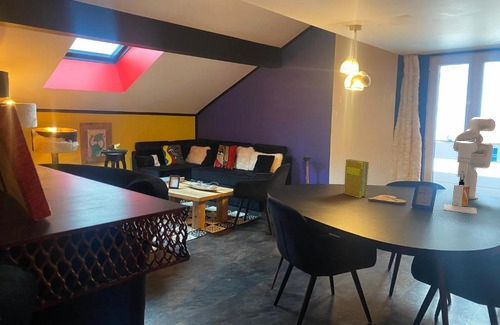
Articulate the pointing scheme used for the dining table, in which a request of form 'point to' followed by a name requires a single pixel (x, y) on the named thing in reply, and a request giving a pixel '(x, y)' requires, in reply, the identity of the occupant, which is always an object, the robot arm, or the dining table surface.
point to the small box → (460, 195)
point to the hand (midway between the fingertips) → (461, 187)
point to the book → (356, 178)
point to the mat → (460, 209)
